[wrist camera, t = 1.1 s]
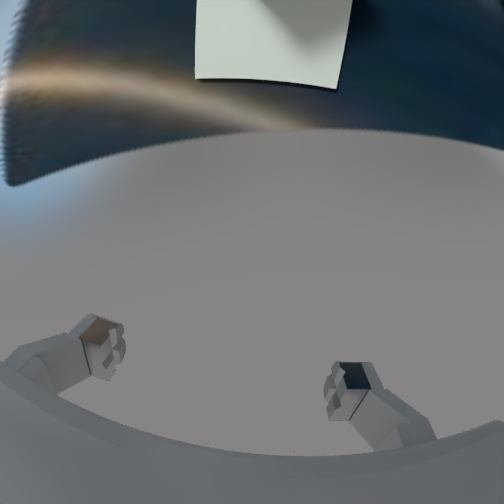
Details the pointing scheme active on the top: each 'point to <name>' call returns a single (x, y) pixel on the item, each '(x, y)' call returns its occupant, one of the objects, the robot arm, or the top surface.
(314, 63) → the sage mat
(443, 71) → the top surface
